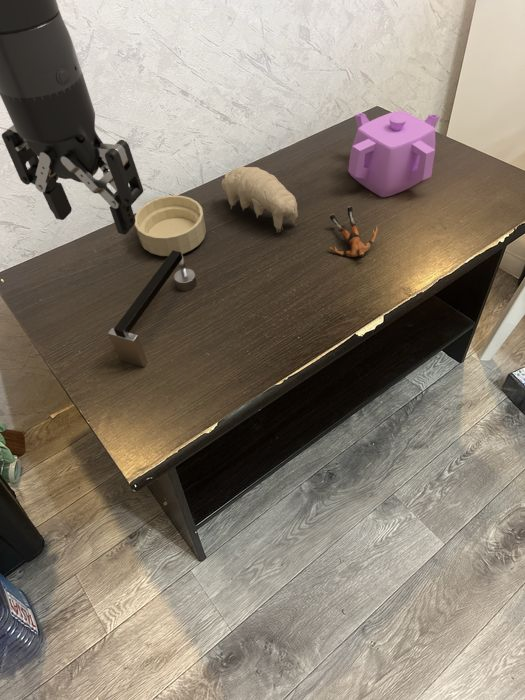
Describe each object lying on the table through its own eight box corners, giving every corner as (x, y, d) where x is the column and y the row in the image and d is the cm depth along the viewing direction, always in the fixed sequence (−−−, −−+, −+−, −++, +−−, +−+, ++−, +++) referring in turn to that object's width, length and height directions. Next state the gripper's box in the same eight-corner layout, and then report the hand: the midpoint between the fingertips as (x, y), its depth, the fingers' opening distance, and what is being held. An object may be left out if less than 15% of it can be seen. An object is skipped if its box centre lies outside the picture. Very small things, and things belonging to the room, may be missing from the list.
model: (238, 192, 104) (233, 147, 96) (305, 225, 96) (306, 179, 89) (215, 208, 101) (209, 163, 93) (283, 243, 94) (282, 197, 86)
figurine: (363, 199, 92) (387, 243, 86) (365, 208, 94) (388, 251, 88) (317, 220, 93) (337, 265, 88) (319, 228, 95) (339, 272, 90)
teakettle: (345, 196, 101) (350, 138, 92) (351, 151, 112) (356, 94, 102) (431, 202, 99) (446, 143, 89) (429, 155, 109) (443, 98, 99)
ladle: (180, 274, 90) (171, 239, 84) (202, 279, 89) (195, 244, 82) (119, 360, 78) (104, 327, 72) (144, 367, 77) (130, 334, 71)
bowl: (155, 268, 91) (148, 246, 87) (131, 230, 98) (125, 209, 94) (217, 243, 94) (214, 222, 90) (190, 209, 101) (186, 188, 98)
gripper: (128, 65, 45) (164, 215, 58) (3, 49, 49) (63, 193, 62) (80, 104, 41) (131, 256, 54) (-53, 83, 45) (24, 230, 57)
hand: (95, 222), depth 58 cm, fingers open, 8 cm apart
